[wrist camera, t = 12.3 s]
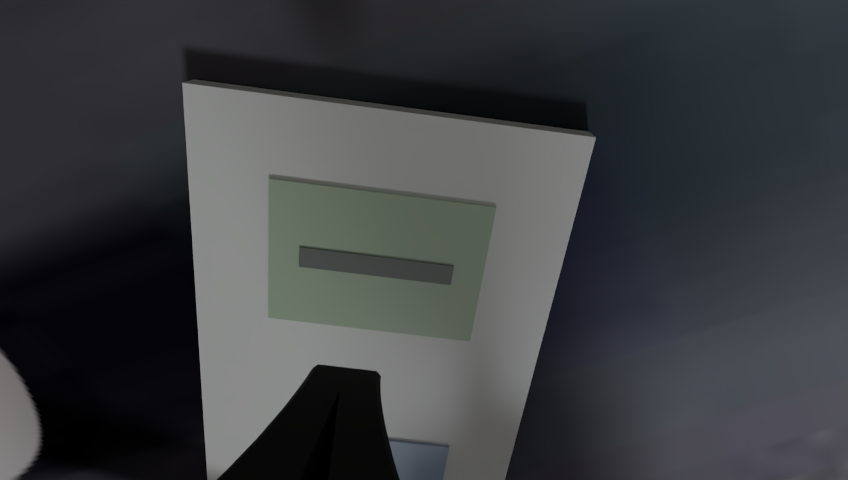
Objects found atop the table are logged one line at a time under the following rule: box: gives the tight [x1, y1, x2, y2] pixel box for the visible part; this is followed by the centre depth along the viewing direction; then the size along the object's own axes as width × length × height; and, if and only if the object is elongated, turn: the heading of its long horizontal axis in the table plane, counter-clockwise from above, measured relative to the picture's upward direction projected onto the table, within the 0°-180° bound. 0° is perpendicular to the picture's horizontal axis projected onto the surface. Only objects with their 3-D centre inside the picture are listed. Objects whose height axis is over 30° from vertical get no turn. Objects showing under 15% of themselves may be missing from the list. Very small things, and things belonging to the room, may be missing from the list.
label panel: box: [182, 79, 596, 480], centre depth 20 cm, size 12×24×1 cm, turn 173°
